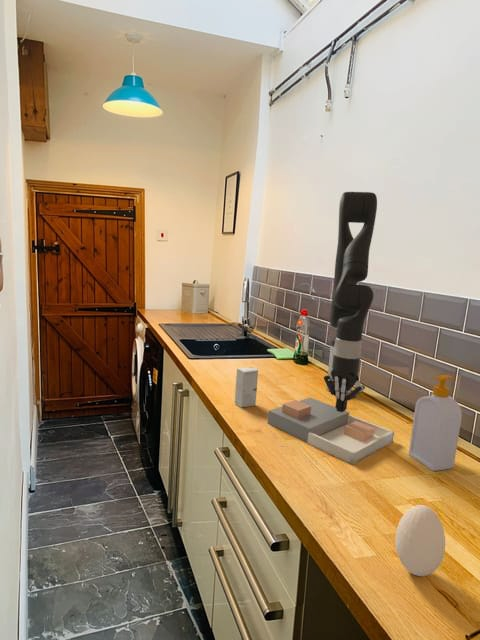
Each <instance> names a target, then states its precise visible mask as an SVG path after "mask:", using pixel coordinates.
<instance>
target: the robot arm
mask: <svg viewBox="0 0 480 640" xmlns="http://www.w3.org/2000/svg"><path fill="white" fill-rule="evenodd" d="M377 208H378V198H377V195H376V193H374V192H371V191H345V192H343V193H342V194H341V197H340V200H339V208H338V210H339V211H338V232H337V233H338V236H337V245H336V246H337V248H336V254H335V255H336V256H335V263H334V278H333V279H334V280H333V293H332V299H331V305H330V310H329V311H330V312H329V324H330V326H331V327H332V328H335V329H336V334H335V336H334V337H332V338H331V340H330V348H329V358H328V359H329V360H328V361H329V362H328V369H327V375H324V376H323V380H324V382H325V384H326V388H325V389H326V390H327V391H328V392H329V393H330V394H331V396H334V397H335V399H336V400H335V407H336V409H337V411H339V412H341V413H342V412H344V411H347V407H348V402H349V401H351V400H353V399H355V398H356V397H357V396H358V395H359V394H361V393H362V392H363V391H364V390H365V389H366V387H365V385H362V384H361V383H360V381H359V380H360V379H359V375H358V373H359V371H360V364H361V363H360V362H361V355H362V354H361V353H362V338H363V337H362V336H363V330H364V324H365V321H366V318H367V315H368V312H369V310H370V309H371V306H372V304H373V301H374V292H373V289H372V288H371V287H370V286H369V285H367V284H366V285H365V284H364V285H363V284H358V283H360V282H363V281H365V280H366V279H367V277H368V273H369V258H370V249H371V244H372V239H373V234H374V230H375V224H376V217H377V210H378V209H377ZM350 223H357V224H363V226H362V228H361V230H360V231H359V232H358V233H357V235H355V237H353V234H352V232H351V229H350V228H351V227H350Z"/></svg>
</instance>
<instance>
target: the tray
mask: <svg viewBox="0 0 480 640" xmlns="http://www.w3.org/2000/svg"><path fill="white" fill-rule="evenodd" d="M355 421H357V422H360V423H362V424H365V425H368V426H370V427H373V428H375V431H374V436H373V437H372V438H370V439H368V440H366V441H365V442H361V441H359V440H357V439H354V438H352V437H349V436H347V435H344V432H345V426H347V425H349V424H351V423H353V422H355ZM394 435H395V431H393V430H390V429H388V428H386V427H382V426H380V425H377V424H374V423H372V422H370V421H367V420H364V419H362V418H360V417H356V416H354V415H352V414H351V415H350V414H349V421H348V424H346V425H344V426H342V427H339V428H337V429H335V430H333V431H330V432H328V433H326V434H323V435H321V436H318V435H316V434H313V433H311V432H309V433H308V442H307V444H308V445H311V446H313V447H314V448H316V449H319V450H321V451H323V452H325V453H327V454H329V455H332V456H333V457H336V458H338V459H340V460H342V461H344V462H347V463H348V464H350V465H352V466H353V465H355V464H356V463H358V462H360V461H361V460H363V459H365V458H367V457H368V456H370V455H373V454H374V453H376V452H378V451H379V450H381V449H383V448H384V447H386V446H387V445H389V444H392V443H393V442H394V438H395V437H394Z"/></svg>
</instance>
